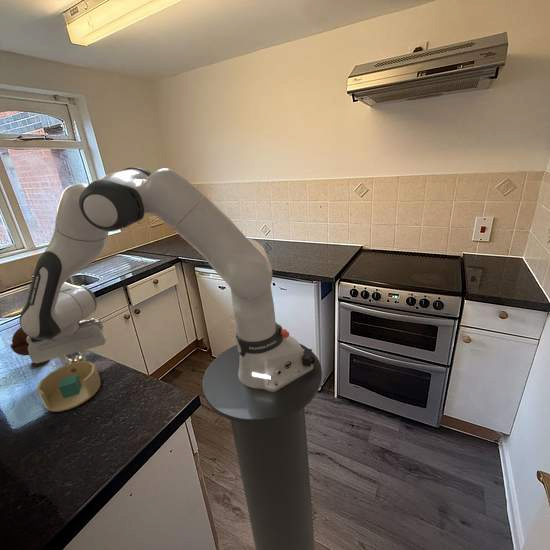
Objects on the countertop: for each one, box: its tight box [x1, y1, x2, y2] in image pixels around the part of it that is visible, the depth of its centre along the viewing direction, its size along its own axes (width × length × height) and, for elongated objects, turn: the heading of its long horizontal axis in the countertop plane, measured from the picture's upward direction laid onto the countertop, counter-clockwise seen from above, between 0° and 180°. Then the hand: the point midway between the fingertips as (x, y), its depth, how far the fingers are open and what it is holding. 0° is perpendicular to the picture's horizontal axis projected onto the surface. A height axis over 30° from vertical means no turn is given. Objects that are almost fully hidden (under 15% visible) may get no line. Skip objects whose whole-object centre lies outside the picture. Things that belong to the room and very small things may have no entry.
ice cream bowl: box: [10, 327, 51, 368], centre depth 102 cm, size 11×11×15 cm
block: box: [59, 375, 81, 398], centre depth 87 cm, size 4×4×4 cm
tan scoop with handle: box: [36, 354, 101, 413], centre depth 90 cm, size 14×21×6 cm, turn 24°
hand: (77, 363), depth 97 cm, fingers closed on tan scoop with handle, 2 cm apart
